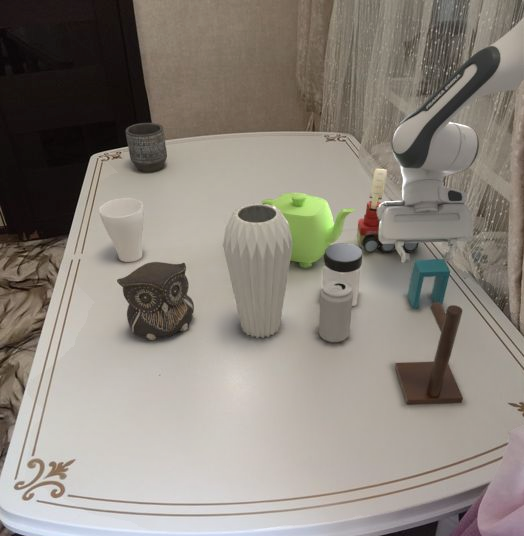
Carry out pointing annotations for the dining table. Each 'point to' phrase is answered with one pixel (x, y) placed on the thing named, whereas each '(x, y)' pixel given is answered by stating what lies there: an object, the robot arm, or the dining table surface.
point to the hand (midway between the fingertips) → (426, 261)
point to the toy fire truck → (376, 219)
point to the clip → (428, 270)
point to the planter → (147, 146)
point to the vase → (258, 265)
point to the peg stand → (434, 365)
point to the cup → (124, 226)
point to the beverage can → (335, 310)
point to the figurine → (157, 299)
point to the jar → (343, 265)
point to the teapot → (309, 225)
